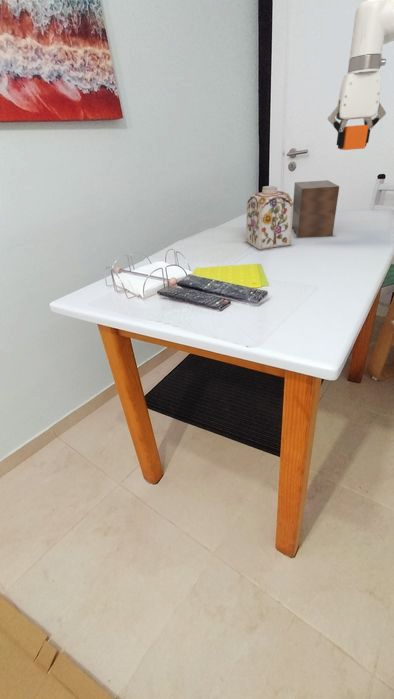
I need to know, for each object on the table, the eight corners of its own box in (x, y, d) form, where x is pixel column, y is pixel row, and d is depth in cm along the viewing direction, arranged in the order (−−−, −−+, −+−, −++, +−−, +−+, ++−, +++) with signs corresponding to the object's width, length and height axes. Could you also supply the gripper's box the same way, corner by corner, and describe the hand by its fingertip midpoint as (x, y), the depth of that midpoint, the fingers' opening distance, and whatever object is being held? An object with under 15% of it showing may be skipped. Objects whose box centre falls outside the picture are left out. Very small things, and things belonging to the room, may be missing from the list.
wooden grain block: (322, 225, 133) (327, 180, 125) (332, 235, 119) (339, 186, 111) (291, 226, 135) (294, 182, 126) (297, 237, 121) (301, 188, 112)
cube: (358, 147, 99) (362, 125, 96) (364, 148, 95) (368, 124, 92) (338, 149, 100) (341, 126, 97) (344, 150, 95) (347, 126, 92)
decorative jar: (245, 241, 120) (246, 186, 111) (275, 237, 122) (278, 183, 113) (259, 250, 111) (260, 190, 101) (291, 245, 113) (296, 186, 103)
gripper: (392, 65, 90) (377, 144, 99) (326, 72, 92) (318, 149, 101) (404, 60, 83) (387, 145, 93) (333, 67, 85) (323, 150, 95)
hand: (351, 146), depth 97 cm, fingers closed on cube, 5 cm apart
